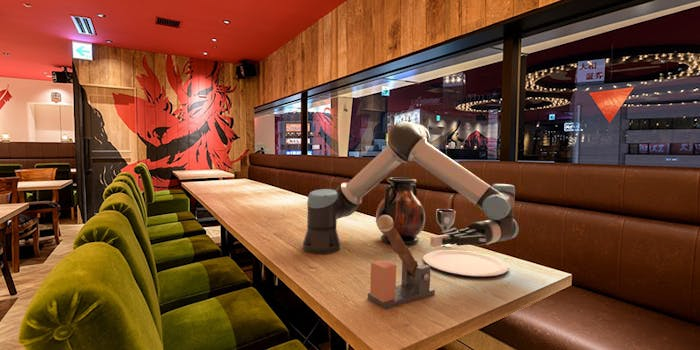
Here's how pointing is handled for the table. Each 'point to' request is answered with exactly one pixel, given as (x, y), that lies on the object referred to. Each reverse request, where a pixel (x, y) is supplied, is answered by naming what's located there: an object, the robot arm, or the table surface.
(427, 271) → the press base
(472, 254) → the plate
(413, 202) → the amphora vase
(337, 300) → the table surface
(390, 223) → the lever
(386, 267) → the stop block
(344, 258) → the table surface
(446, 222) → the wine glass
